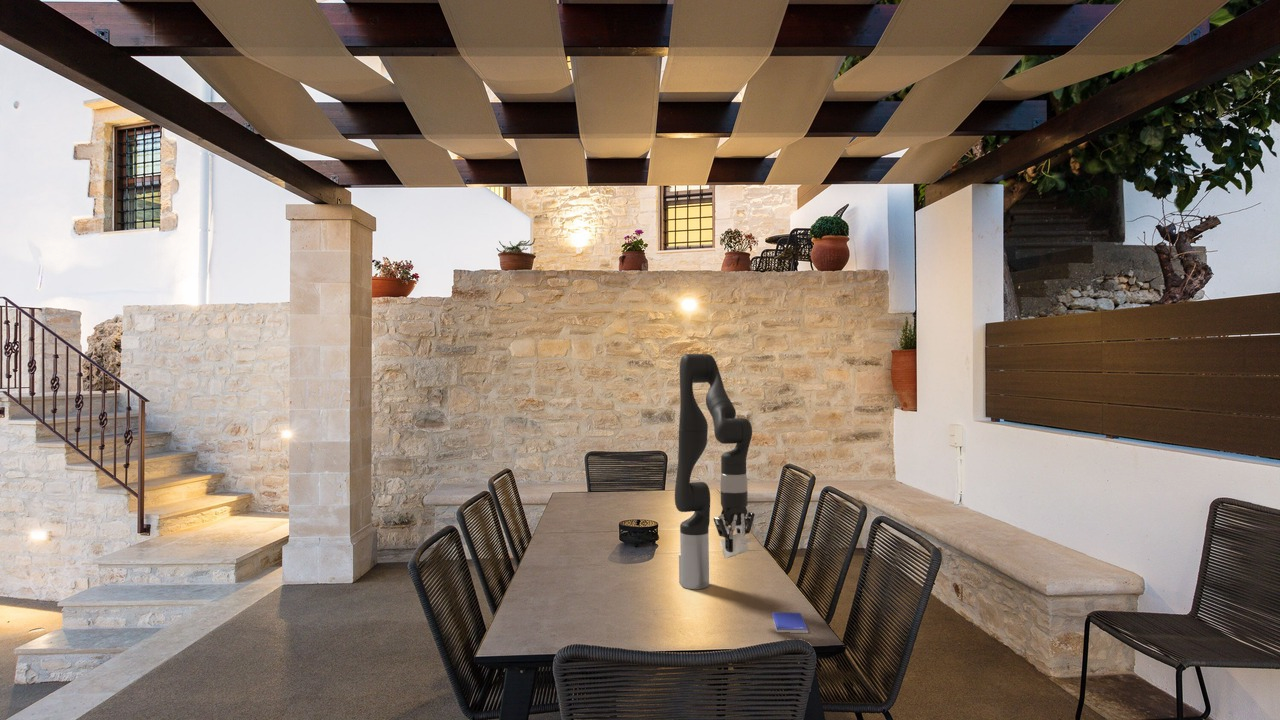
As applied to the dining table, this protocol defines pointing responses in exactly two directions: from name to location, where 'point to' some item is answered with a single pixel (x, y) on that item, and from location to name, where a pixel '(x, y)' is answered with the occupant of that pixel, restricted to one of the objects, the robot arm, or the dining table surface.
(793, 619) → the hard drive
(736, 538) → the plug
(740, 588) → the dining table surface
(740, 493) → the robot arm
